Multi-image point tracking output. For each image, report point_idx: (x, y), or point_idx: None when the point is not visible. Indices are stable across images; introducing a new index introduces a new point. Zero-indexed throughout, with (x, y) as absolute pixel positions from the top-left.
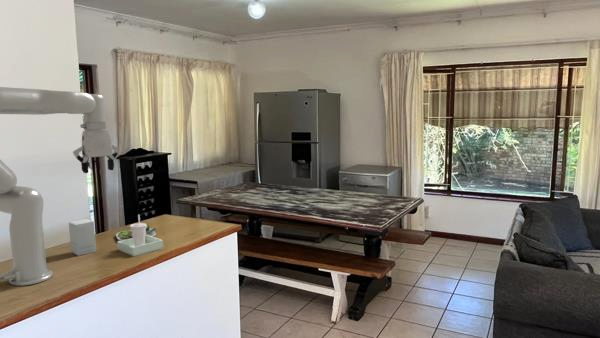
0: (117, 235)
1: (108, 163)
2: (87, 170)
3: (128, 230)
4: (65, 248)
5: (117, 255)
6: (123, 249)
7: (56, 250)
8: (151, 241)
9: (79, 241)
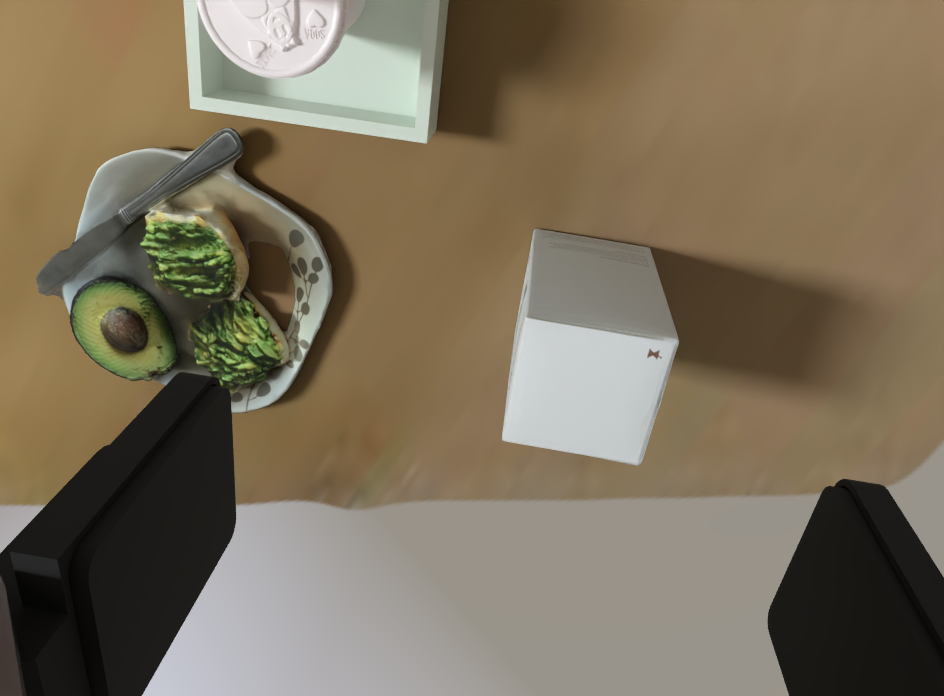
0: (287, 372)
1: (163, 613)
2: (882, 514)
3: None
4: None
5: (510, 13)
6: (442, 38)
7: None
8: None
9: (644, 279)
